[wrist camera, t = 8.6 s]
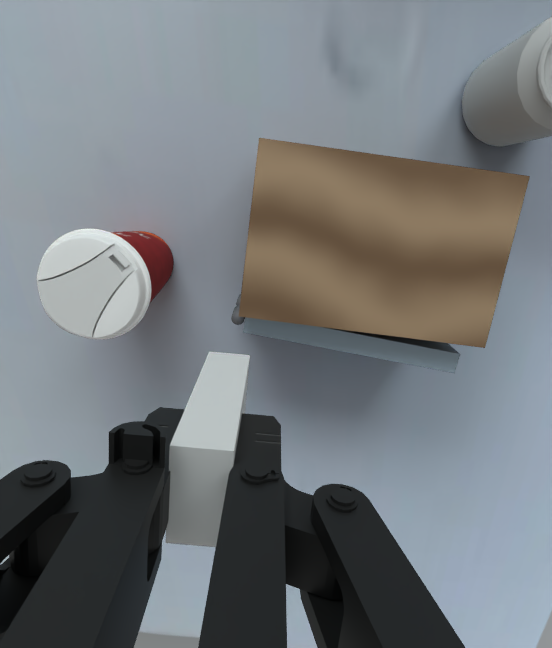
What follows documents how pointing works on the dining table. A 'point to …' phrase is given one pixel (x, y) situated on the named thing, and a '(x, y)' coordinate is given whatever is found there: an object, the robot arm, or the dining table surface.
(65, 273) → the paper cup
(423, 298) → the cabinet
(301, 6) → the dining table surface
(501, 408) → the dining table surface
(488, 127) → the can
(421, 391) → the dining table surface
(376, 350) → the door
